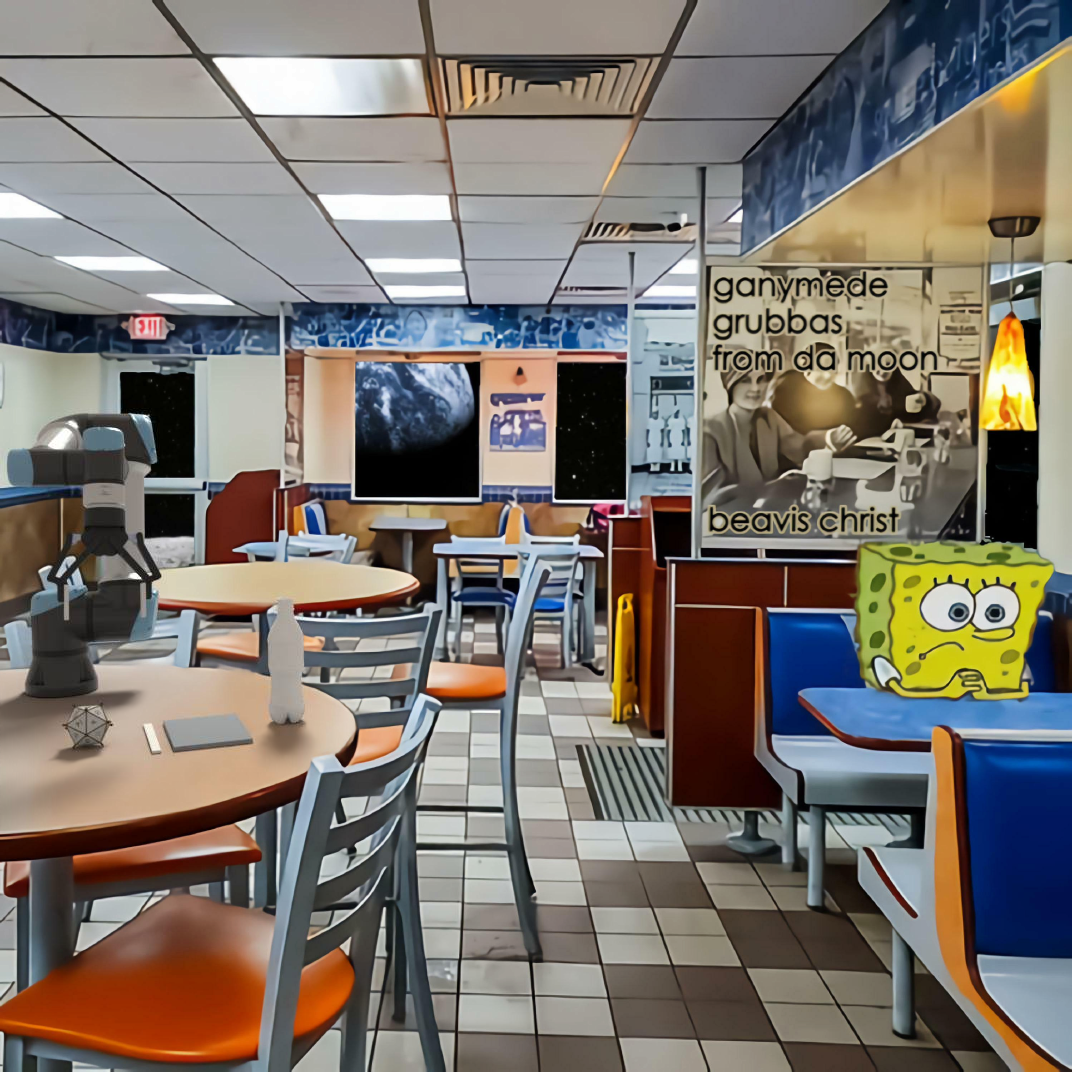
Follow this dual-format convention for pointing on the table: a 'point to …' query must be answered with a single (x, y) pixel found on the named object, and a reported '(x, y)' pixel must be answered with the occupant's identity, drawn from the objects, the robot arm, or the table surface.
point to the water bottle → (286, 665)
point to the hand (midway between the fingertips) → (105, 618)
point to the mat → (206, 732)
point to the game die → (87, 725)
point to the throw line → (152, 738)
